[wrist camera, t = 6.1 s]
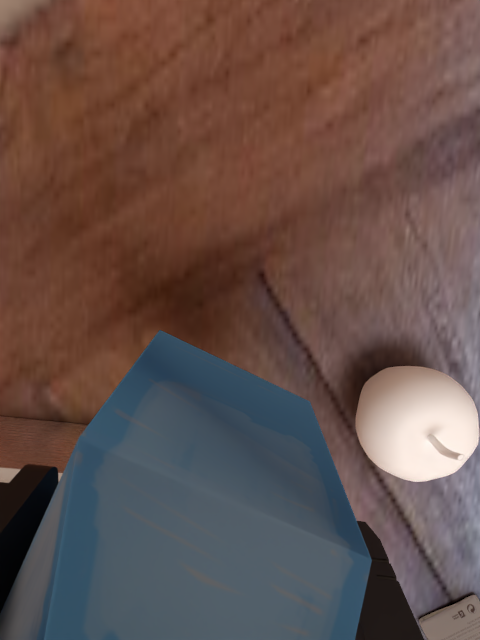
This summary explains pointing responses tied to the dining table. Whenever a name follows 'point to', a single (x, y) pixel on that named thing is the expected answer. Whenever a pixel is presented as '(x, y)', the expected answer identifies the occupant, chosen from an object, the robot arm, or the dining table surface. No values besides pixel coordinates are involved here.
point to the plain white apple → (416, 423)
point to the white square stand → (35, 444)
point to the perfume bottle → (194, 517)
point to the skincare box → (454, 621)
